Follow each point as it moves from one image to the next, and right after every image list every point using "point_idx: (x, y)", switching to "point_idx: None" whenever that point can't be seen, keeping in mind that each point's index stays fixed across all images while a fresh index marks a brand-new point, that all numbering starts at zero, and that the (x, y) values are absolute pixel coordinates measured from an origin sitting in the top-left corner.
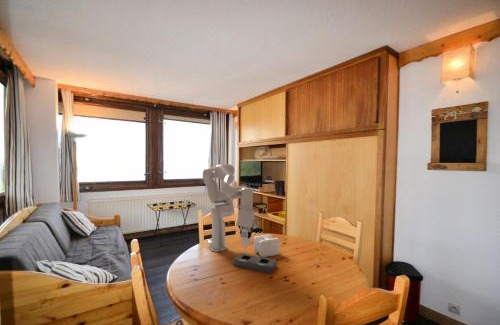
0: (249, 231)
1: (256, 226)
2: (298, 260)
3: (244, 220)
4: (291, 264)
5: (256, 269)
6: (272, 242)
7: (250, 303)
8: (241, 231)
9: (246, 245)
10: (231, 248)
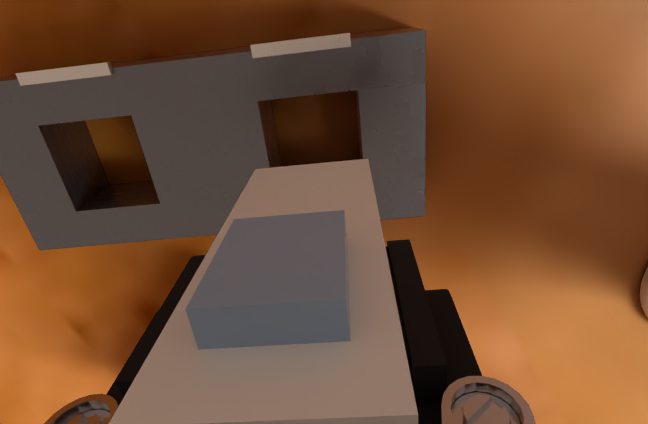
0: (95, 416)
1: None
2: (31, 370)
3: None
4: (19, 301)
5: (149, 59)
6: None
7: None
8: (424, 348)
9: (268, 172)
10: (598, 321)
